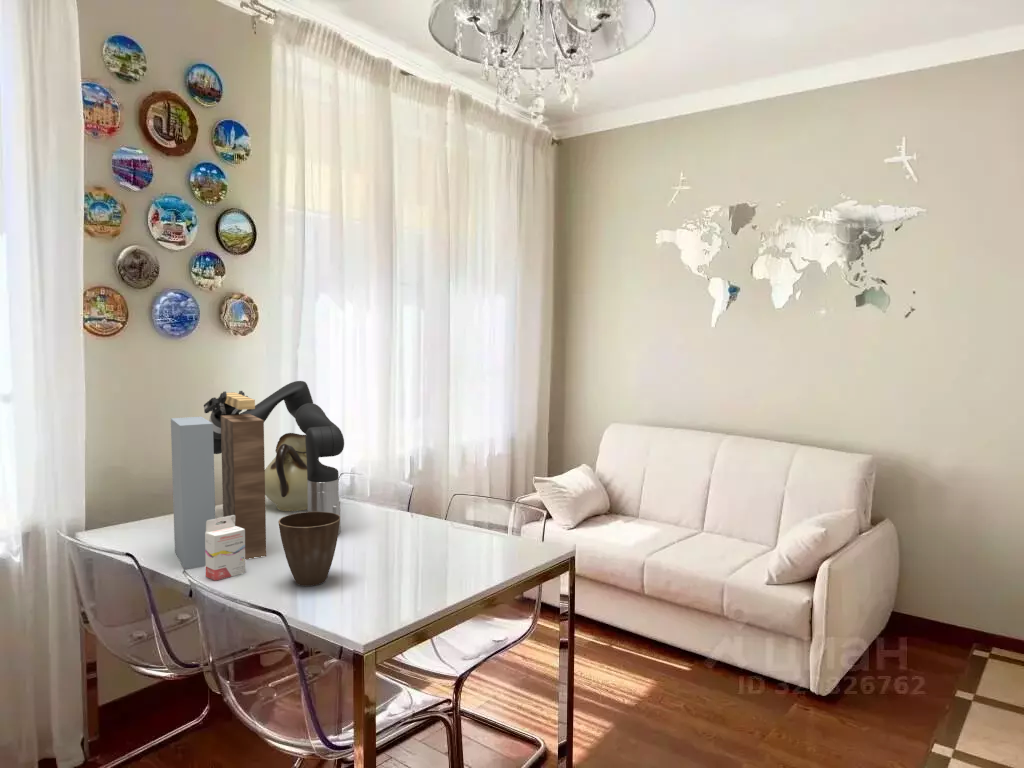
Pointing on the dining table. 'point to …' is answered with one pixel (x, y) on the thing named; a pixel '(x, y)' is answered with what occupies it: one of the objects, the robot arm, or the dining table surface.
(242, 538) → the ink cartridge box
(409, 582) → the dining table surface
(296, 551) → the plant pot
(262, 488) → the walnut pillar
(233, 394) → the pine slat
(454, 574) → the dining table surface
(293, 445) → the pitcher
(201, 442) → the slate grey pillar
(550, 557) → the dining table surface
